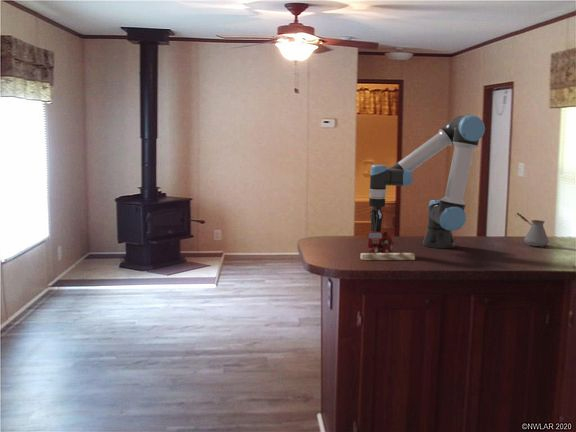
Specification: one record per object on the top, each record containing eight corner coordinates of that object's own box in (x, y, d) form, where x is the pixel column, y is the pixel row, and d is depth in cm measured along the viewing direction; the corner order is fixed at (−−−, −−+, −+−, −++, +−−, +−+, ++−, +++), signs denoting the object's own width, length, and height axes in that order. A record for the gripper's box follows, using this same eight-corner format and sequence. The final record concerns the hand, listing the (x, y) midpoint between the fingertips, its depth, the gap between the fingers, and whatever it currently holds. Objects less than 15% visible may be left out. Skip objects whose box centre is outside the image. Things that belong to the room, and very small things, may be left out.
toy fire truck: (394, 255, 272) (395, 233, 271) (368, 255, 271) (369, 232, 270) (390, 252, 279) (391, 230, 278) (364, 252, 278) (365, 230, 276)
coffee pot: (553, 247, 302) (555, 218, 299) (535, 248, 298) (537, 218, 295) (522, 239, 321) (525, 212, 319) (505, 240, 317) (507, 212, 315)
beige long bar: (412, 258, 267) (412, 252, 266) (414, 259, 264) (415, 253, 263) (360, 258, 263) (360, 252, 263) (362, 260, 260) (362, 254, 260)
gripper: (365, 196, 285) (363, 244, 288) (373, 199, 272) (371, 250, 275) (381, 196, 286) (378, 244, 289) (389, 199, 273) (386, 250, 276)
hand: (374, 247), depth 282 cm, fingers closed
